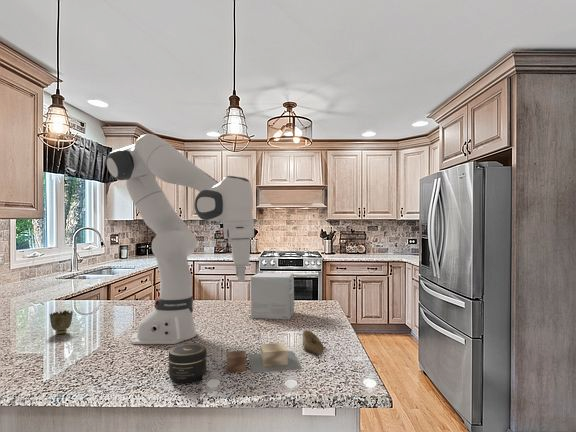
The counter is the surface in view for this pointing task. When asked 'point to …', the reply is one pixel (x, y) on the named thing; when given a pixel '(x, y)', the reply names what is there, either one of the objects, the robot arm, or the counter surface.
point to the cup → (61, 321)
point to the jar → (187, 363)
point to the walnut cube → (236, 361)
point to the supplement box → (272, 295)
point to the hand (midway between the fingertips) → (240, 278)
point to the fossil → (312, 343)
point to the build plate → (258, 366)
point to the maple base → (274, 354)
